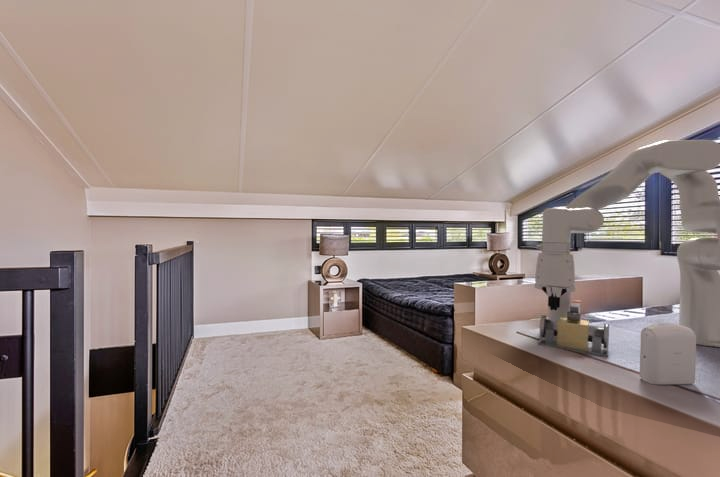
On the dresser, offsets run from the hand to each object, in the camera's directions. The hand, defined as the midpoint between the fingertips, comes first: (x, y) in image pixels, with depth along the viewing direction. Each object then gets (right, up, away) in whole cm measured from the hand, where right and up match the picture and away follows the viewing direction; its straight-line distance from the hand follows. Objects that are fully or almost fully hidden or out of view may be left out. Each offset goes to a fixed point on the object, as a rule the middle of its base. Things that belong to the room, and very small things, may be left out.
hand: (553, 309), depth 105 cm
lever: (+5, -1, -3) cm, 6 cm away
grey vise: (+1, -9, -8) cm, 12 cm away
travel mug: (+6, -9, +8) cm, 13 cm away
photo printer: (+6, -9, -32) cm, 33 cm away
